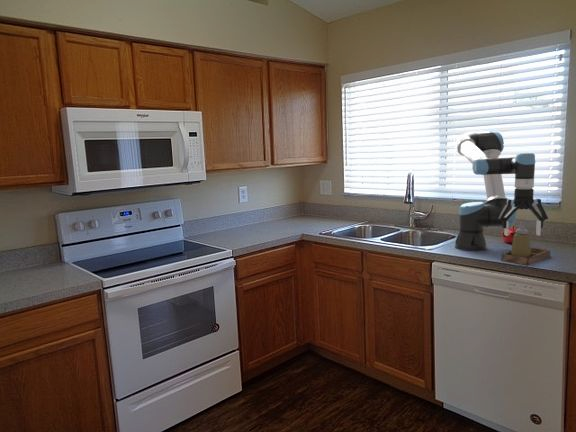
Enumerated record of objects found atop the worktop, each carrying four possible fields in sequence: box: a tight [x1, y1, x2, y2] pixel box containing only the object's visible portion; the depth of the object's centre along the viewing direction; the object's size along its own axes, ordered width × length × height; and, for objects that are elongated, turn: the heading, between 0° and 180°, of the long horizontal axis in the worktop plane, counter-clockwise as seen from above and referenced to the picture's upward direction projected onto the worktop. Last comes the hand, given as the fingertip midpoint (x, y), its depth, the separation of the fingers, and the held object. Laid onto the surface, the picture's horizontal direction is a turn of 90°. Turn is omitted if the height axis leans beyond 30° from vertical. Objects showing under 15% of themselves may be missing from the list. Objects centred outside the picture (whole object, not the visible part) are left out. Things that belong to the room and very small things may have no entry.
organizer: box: [500, 246, 551, 266], centre depth 204 cm, size 12×22×3 cm, turn 128°
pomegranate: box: [501, 225, 519, 244], centre depth 237 cm, size 10×10×9 cm
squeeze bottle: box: [510, 221, 531, 258], centre depth 200 cm, size 8×8×18 cm
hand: (522, 235), depth 199 cm, fingers open, 13 cm apart
